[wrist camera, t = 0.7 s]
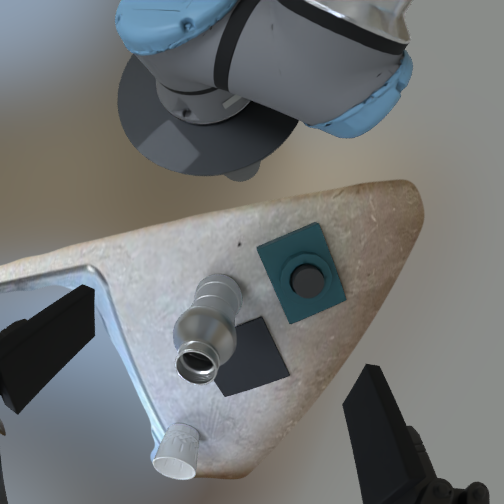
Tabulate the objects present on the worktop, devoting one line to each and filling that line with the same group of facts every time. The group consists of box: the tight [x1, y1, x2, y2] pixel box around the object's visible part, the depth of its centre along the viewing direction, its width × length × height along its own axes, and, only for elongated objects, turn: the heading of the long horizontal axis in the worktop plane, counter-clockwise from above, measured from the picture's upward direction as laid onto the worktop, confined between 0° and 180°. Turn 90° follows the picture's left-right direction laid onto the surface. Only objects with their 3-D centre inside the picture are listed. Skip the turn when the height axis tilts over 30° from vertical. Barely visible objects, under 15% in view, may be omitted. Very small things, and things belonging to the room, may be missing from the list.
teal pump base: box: [257, 222, 346, 324], centre depth 39 cm, size 12×9×4 cm
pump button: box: [291, 265, 324, 298], centre depth 37 cm, size 4×4×2 cm
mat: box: [214, 317, 290, 397], centre depth 44 cm, size 12×12×1 cm
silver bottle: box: [173, 274, 242, 385], centre depth 32 cm, size 6×7×20 cm
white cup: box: [153, 423, 199, 480], centre depth 43 cm, size 8×8×10 cm
